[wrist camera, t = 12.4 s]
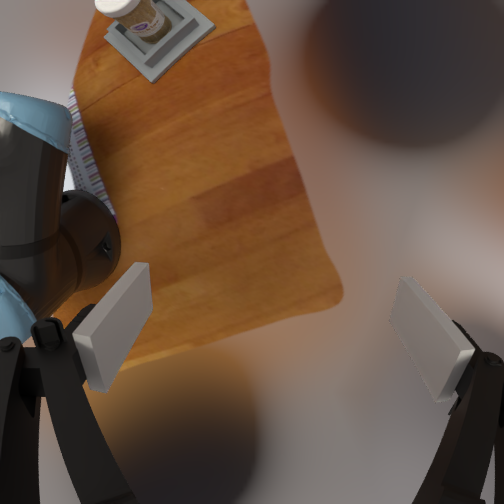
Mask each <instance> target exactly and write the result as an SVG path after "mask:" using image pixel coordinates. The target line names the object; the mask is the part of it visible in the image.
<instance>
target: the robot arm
mask: <svg viewBox="0 0 504 504" xmlns="http://www.w3.org/2000/svg"><path fill="white" fill-rule="evenodd" d="M71 128H72V115H71V113H70V111H69V110H68V109H67V108H66V107H65V106H63V105H60V104H57V103H54V102H50V101H46V100H42V99H38V98H34V97H29V96H24V95H20V94H14V93H8V92H1V91H0V504H40V495H39V471H38V446H39V444H38V443H39V421H40V420H39V419H40V407H41V397H46V400H47V404H48V408H49V412H50V416H51V420H52V424H53V427H54V431H55V434H56V437H57V440H58V444H59V447H60V450H61V453H62V456H63V459H64V461H65V465H66V467H67V470H68V473H69V475H70V478H71V480H72V483H73V486H74V488H75V490H76V493H77V495H78V497H79V500H80V502H81V504H140V503H139V502H138V500H137V499H136V497H135V495H134V494H133V492H132V490H131V488H130V487H129V485H128V483H127V481H126V479H125V478H124V476H123V474H122V472H121V470H120V468H119V467H118V465H117V463H116V461H115V459H114V457H113V455H112V453H111V451H110V449H109V447H108V445H107V443H106V441H105V439H104V436H103V434H102V432H101V430H100V428H99V426H98V423H97V421H96V419H95V416H94V414H93V412H92V409H91V407H90V404H89V402H88V399H87V397H86V394H85V392H84V389H83V387H82V385H83V384H84V382H85V380H86V379H87V382H88V385H89V388H90V389H91V390H95V391H99V392H103V393H107V392H108V390H109V388H110V386H111V384H112V382H113V380H114V378H115V377H116V375H117V373H118V371H119V369H120V367H121V366H122V364H123V362H124V360H125V358H126V356H127V355H128V353H129V351H130V349H131V347H132V346H133V344H134V342H135V340H136V338H137V337H138V335H139V333H140V331H141V330H142V328H143V326H144V324H145V323H146V321H147V319H148V317H149V316H150V314H151V312H152V310H153V304H152V295H151V285H150V273H149V263H143V262H135V263H134V264H133V265H132V266H131V267H130V268H129V269H128V270H127V271H126V272H125V273H124V274H123V276H122V277H121V278H120V279H119V280H118V281H117V282H116V283H115V284H114V286H113V287H112V288H111V289H110V290H109V291H108V292H107V293H106V295H105V296H104V297H103V298H102V299H101V300H100V301H99V303H98V304H90V305H88V306H86V307H85V308H83V309H82V310H81V311H80V312H79V313H78V314H77V316H75V318H74V319H73V320H72V321H71V322H70V323H69V324H68V325H67V327H66V328H65V329H64V328H63V324H62V322H61V321H60V320H59V319H57V318H53V317H51V315H52V314H53V313H54V312H55V311H56V310H57V309H58V308H59V307H60V306H61V305H62V304H63V303H64V302H65V301H66V300H67V299H68V298H69V297H70V296H71V295H72V294H73V293H75V292H78V291H82V290H85V289H89V288H92V287H95V286H97V285H98V284H100V283H101V282H103V281H104V280H105V279H106V278H107V277H108V276H109V275H110V274H111V273H112V271H113V270H114V269H115V267H116V265H117V262H118V259H119V255H120V235H119V231H118V227H117V224H116V222H115V220H114V218H113V216H112V214H111V212H110V211H109V209H108V208H107V207H106V206H105V205H104V204H103V203H102V202H101V201H100V200H99V199H98V198H97V197H95V196H94V195H92V194H90V193H88V192H85V191H81V190H68V191H65V192H63V187H64V179H65V172H66V166H67V159H68V155H70V149H69V142H70V135H71ZM389 322H390V323H391V325H392V326H393V328H394V330H395V332H396V333H397V335H398V337H399V338H400V340H401V342H402V344H403V345H404V347H405V349H406V350H407V352H408V354H409V356H410V358H411V359H412V361H413V363H414V365H415V366H416V368H417V370H418V372H419V374H420V376H421V377H422V379H423V381H424V383H425V385H426V387H427V388H428V390H429V392H430V394H431V396H432V398H433V400H434V402H435V403H439V402H444V401H449V400H450V398H451V396H452V395H453V393H454V391H455V390H456V392H457V394H458V395H459V396H458V398H457V400H456V401H455V403H454V405H453V407H452V408H451V410H450V412H449V413H448V415H450V414H451V416H450V419H449V422H448V424H447V427H446V430H445V432H444V436H443V438H442V440H441V443H440V445H439V448H438V450H437V452H436V455H435V457H434V459H433V462H432V464H431V466H430V468H429V470H428V473H427V475H426V477H425V479H424V481H423V483H422V485H421V487H420V489H419V491H418V493H417V495H416V497H415V499H414V501H413V502H412V504H486V503H485V500H482V499H480V496H481V492H482V489H483V485H484V482H485V478H486V475H487V471H488V467H489V463H490V458H491V455H492V450H493V446H494V451H495V497H494V504H504V362H503V360H502V359H501V358H500V357H499V356H498V355H496V354H494V353H491V352H483V351H482V350H481V349H480V348H479V346H478V345H477V344H476V343H475V341H474V340H473V339H472V338H470V336H469V334H468V333H466V331H465V330H464V328H463V327H462V326H461V325H459V324H458V323H457V322H455V321H454V320H451V319H450V318H449V317H448V316H447V315H446V313H445V312H444V311H443V310H442V309H441V308H440V307H439V306H438V304H437V303H436V302H435V301H434V300H433V299H432V298H431V296H429V294H428V293H427V292H426V291H425V290H424V289H423V288H422V287H421V285H420V284H418V282H417V281H416V280H415V279H414V278H413V277H400V281H399V285H398V289H397V293H396V297H395V301H394V305H393V308H392V312H391V315H390V319H389ZM31 336H32V337H33V340H34V343H35V346H36V347H23V345H22V344H23V343H24V342H25V341H26V340H27V339H28V338H29V337H31Z"/></svg>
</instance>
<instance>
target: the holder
mask: <svg viewBox="0 0 504 504" xmlns="http://www.w3.org/2000/svg"><path fill="white" fill-rule="evenodd" d="M152 1H153V2H154V3H155V4H156V5H157V6H158V7H159V8H160V9H161V11H162V12H163V13H164V15H165V16H167V17H168V18H169V19H170V21H171V24H172V27H171V31H170V32H169V33H168V34H167V35H165V36H164V37H163V38H162V39H161V40H160V41H159V42H158V43H154V44H153V43H152V44H150V43H146V42H144V41H143V40H141V38H140V37H138V36H136V35H135V34H133V33H132V32H130V31H129V30H128V29H126V28H125V27H124V26H123V25H122V24H120V23H119V22H117V21H116V20H115V21H114V22H113V23H112V24H111V25H110V26H109V27H108V28H107V30H108V31H109V32H108V33H107V34H106V35H105V36H104V38H105V39H106V40H107V41H108V42H109V43H110V44H111V45H113V46H114V47H115V48H116V49H117V50H118V51H119V52H120V53H121V54H122V55H123V56H124V57H125V58H126V59H127V60H128V61H129V62H130V63H132V64H133V65H134V66H135V67H136V68H137V69H138V70H139V71H140V72H141V73H142V74H143V75H144V76H145V77H146V78H147V79H148V80H149V81H150V82H151V83H155V82H156V81H157V80H158V79H159V78H160V77H161V76H162V75H163V74H164V73H165V72H166V71H167V70H168V69H169V68H170V67H172V66H173V65H174V64H175V63H176V62H177V61H178V60H179V59H180V58H181V57H182V56H183V55H184V54H186V53H187V52H188V51H189V50H190V49H191V48H192V47H193V46H195V45H196V44H197V43H198V42H199V41H200V40H202V39H203V38H204V37H205V36H206V35H208V34H209V33H210V32H211V31H212V30H214V29H215V28H216V27H215V25H214V24H213V23H212V22H211V21H210V20H209V19H207V18H206V17H205V16H204V15H203V14H201V13H200V12H199V11H198V10H197V9H195V8H194V7H193V6H192V5H190V4H189V3H188V2H187V1H185V0H152Z"/></svg>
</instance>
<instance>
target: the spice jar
mask: <svg viewBox="0 0 504 504" xmlns="http://www.w3.org/2000/svg"><path fill="white" fill-rule="evenodd" d="M95 6H96V8H97V9H98V10H99V11H100V12H101V13H103V14H104V15H106V16H107V17H112V18H113V19H115V20H116V21H117V22H119V23H120V24H122V25H123V26H124V27H125V28H126V29H128V30H129V31H130V32H132V33H133V34H135V35H136V36H138V37H140V38H141V40H143V41H144V42H146V43H150V44H152V43H153V44H154V43H158V42H159V41H160V40H161V39H162V38H163V37H164V36H165V35H167V34H168V33H169V32H170V31H171V27H172V24H171V21H170V19H169V18H168V17H167V16H165V15H164V13H163V12H162V11H161V9H160V8H159V7H158V6H157V5H156V4H155V3H154V2H153V1H152V0H95Z"/></svg>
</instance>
